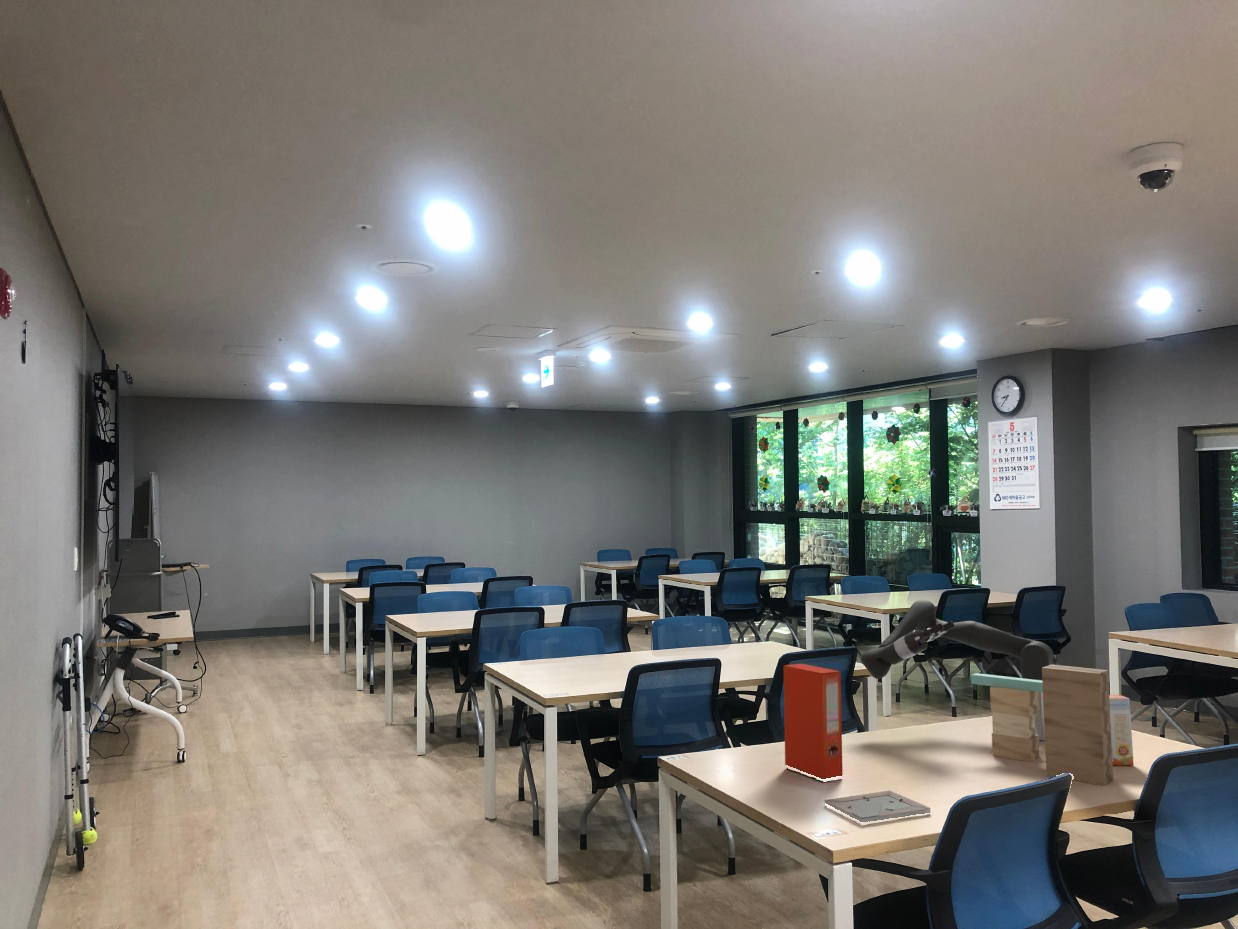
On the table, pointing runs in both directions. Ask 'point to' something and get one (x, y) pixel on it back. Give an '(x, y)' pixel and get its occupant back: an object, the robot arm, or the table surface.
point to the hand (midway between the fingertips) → (947, 624)
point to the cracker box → (1121, 730)
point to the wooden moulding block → (1077, 723)
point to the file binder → (813, 720)
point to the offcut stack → (1014, 723)
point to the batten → (1007, 682)
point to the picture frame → (877, 806)
